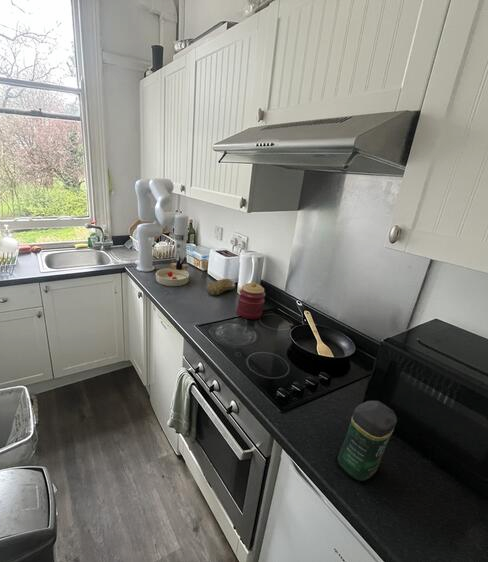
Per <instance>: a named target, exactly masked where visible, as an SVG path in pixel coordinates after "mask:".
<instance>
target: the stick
mask: <svg viewBox="0 0 488 562" xmlns="http://www.w3.org/2000/svg"><path fill="white" fill-rule="evenodd" d="M170 268H171V269H176V262H171V263H170ZM189 268H190V264H186V263H183V264H182V270H185V271H187V272H189V270H190V269H189Z"/></svg>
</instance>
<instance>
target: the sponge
mask: <svg viewBox="0 0 488 562" xmlns="http://www.w3.org/2000/svg"><path fill="white" fill-rule="evenodd" d="M235 288H236V283H235V282H234V281H233V280H232V279H229V278H222V279H217V280H214V281H212V282H209V283H207V286H206V289H207V292H208V294H209V295H212V296H219V295H221V294H223V293H224V292H226V291H232V290H234V289H235Z"/></svg>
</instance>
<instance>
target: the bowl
mask: <svg viewBox="0 0 488 562" xmlns="http://www.w3.org/2000/svg"><path fill="white" fill-rule="evenodd" d="M168 272H172V273H173V275H172V276H168ZM173 277H176V278H177V279H172V278H173ZM155 281H156V282H157V284H160V285H162V286H167V287H180V286H181V287H182V286H184V285H186V284H188V283H189V282H190V272H189V271H185V270H176V269H171V267H168V268H167V267H166V268H161V269H159V270H157V271H156V272H155Z"/></svg>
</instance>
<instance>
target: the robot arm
mask: <svg viewBox="0 0 488 562" xmlns="http://www.w3.org/2000/svg"><path fill="white" fill-rule="evenodd" d="M174 187H175V186H174V183H173V180H171V179H169V178H158V177H157V178H141V179H138V180H136V182H135V186H134V189H135V194H136V197H137V214H138V215H137V216H138V219H139V221H140V222H145V223H140V224H138V225H137V227H136V235H137V236H136V237H137V257H138V259H137V260H135V262H134V264H135V265H136V266H135V269H136V271H139V272H142V273H144V272H145V273H146V272H147V273H148V272H153V271H154V270H155V266H154V265H153V243H152V241H151V238H158V237H159V238H160V237H161V236H162V235H163V230H164V229H163V228H164V227H171V226H173V241H175V243H174V258H175V261H176V262H175V263H176V270H182V264H184V259H185V258H186V256H187V246H188V245H187V244H188V243H187V241H188V239H189V237H188V235H189V216H188V214H185V213H182V212H181V211H164V209H163V208H164V207H166V206H168V205H169V204H170V203H171V201H172V196H171V194H172V193H173V192H174V189H175V188H174ZM149 194H152V196H153V197H154V199H155V201H156V203H155V205H154V206H153V205H152V198H151V196H150V195H149ZM146 222H147V223H146Z"/></svg>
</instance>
